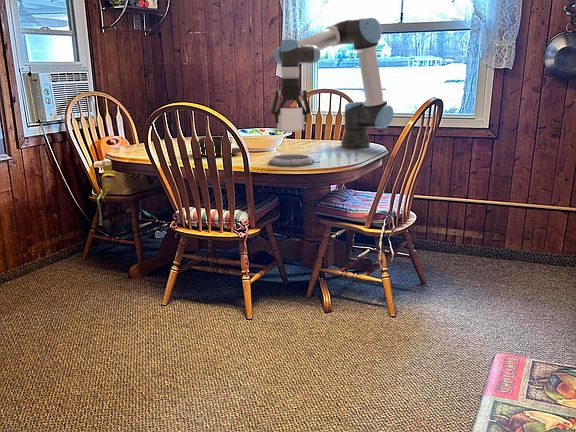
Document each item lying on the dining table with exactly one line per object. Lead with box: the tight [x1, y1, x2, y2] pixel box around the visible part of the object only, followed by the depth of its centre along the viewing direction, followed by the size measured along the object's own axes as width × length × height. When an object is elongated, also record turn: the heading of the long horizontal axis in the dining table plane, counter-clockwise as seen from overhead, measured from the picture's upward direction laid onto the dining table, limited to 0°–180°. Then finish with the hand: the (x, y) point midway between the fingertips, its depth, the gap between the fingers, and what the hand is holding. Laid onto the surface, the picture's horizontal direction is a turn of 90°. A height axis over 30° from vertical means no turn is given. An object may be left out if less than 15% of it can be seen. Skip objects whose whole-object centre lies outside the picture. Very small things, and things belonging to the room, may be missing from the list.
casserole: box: [189, 136, 241, 157], centre depth 267 cm, size 25×19×8 cm
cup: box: [279, 106, 303, 133], centre depth 237 cm, size 10×10×10 cm
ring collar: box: [268, 153, 315, 168], centre depth 242 cm, size 20×20×2 cm
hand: (290, 130), depth 238 cm, fingers closed on cup, 10 cm apart
